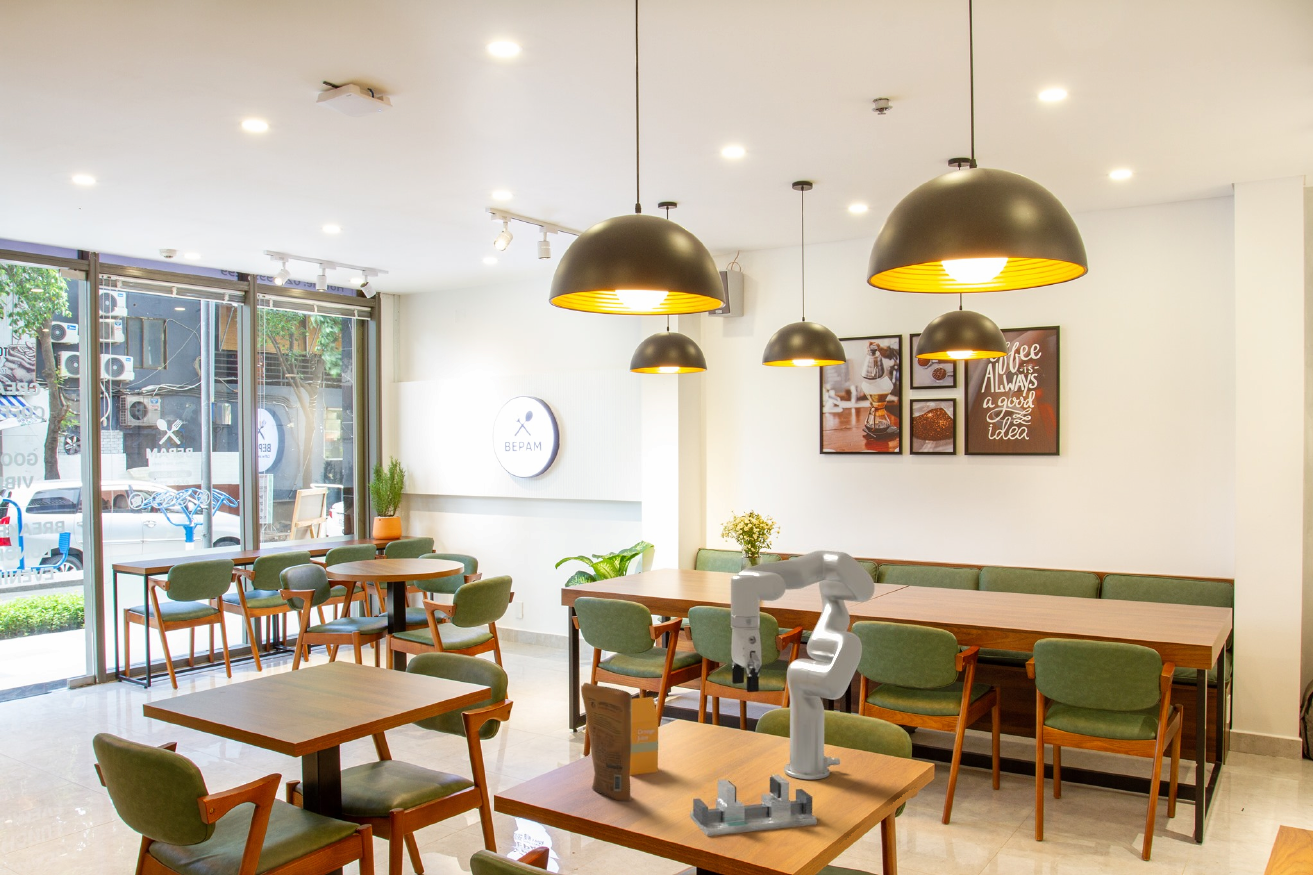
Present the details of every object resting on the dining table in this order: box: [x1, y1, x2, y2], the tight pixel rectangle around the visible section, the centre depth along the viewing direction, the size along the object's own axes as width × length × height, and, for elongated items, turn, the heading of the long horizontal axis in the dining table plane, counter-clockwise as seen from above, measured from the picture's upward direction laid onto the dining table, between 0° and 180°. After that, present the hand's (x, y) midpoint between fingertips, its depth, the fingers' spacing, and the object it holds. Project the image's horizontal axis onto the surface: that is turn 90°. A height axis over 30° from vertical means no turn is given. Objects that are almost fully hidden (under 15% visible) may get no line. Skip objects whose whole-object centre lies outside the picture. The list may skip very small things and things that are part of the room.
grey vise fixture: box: [689, 774, 818, 837], centre depth 227 cm, size 29×12×10 cm, turn 107°
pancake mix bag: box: [580, 682, 633, 802], centre depth 245 cm, size 7×19×28 cm, turn 39°
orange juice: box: [630, 696, 659, 776], centre depth 265 cm, size 8×9×20 cm
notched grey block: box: [715, 778, 746, 822], centre depth 225 cm, size 5×6×8 cm
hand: (745, 687), depth 246 cm, fingers open, 9 cm apart
